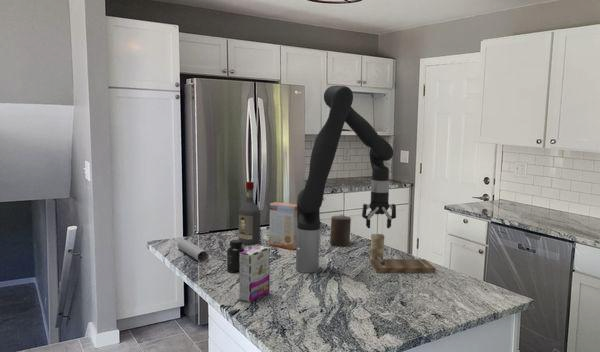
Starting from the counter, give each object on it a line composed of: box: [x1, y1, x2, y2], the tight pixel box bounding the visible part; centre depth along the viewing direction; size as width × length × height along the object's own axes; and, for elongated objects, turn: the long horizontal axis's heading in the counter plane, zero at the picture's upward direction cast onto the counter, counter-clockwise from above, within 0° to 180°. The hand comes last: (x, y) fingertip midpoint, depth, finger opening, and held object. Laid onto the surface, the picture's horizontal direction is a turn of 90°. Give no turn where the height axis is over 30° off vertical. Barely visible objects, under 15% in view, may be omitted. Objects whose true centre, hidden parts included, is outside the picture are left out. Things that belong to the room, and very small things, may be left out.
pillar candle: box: [329, 215, 352, 248], centre depth 229 cm, size 10×10×15 cm
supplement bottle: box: [226, 239, 246, 274], centre depth 185 cm, size 7×7×12 cm
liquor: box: [238, 181, 261, 246], centre depth 227 cm, size 9×9×30 cm
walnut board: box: [370, 258, 436, 274], centre depth 194 cm, size 24×12×2 cm, turn 94°
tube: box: [177, 239, 210, 264], centre depth 205 cm, size 5×5×25 cm
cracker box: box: [268, 201, 297, 251], centre depth 222 cm, size 14×6×21 cm, turn 58°
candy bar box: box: [239, 245, 271, 303], centre depth 158 cm, size 11×5×16 cm, turn 148°
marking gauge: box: [369, 233, 385, 265], centre depth 196 cm, size 5×13×12 cm, turn 4°
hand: (378, 227), depth 199 cm, fingers open, 8 cm apart
